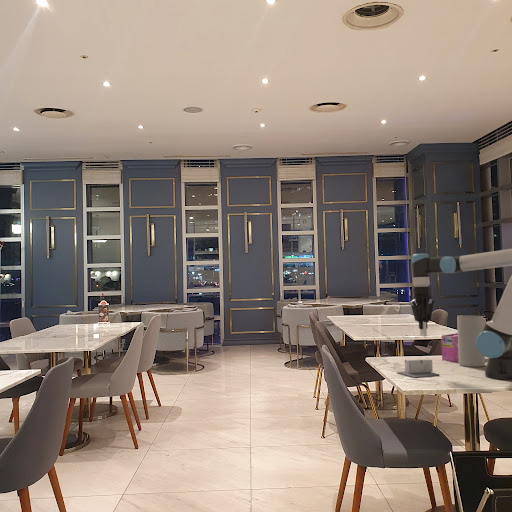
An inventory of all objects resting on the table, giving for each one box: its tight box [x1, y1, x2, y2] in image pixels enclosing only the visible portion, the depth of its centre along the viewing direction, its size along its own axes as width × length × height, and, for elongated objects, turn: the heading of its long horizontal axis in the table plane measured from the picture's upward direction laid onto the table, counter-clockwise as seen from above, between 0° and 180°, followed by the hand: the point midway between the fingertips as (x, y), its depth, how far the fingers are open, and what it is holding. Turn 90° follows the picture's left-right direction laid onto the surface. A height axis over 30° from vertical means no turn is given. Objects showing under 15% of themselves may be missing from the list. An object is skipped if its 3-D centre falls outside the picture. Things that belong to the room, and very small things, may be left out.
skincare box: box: [404, 358, 434, 373], centre depth 246 cm, size 6×4×12 cm
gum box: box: [441, 332, 459, 363], centre depth 288 cm, size 24×8×14 cm, turn 129°
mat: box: [396, 370, 440, 379], centre depth 243 cm, size 13×14×1 cm
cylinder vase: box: [456, 315, 486, 368], centre depth 266 cm, size 12×12×25 cm
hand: (423, 335), depth 245 cm, fingers closed
